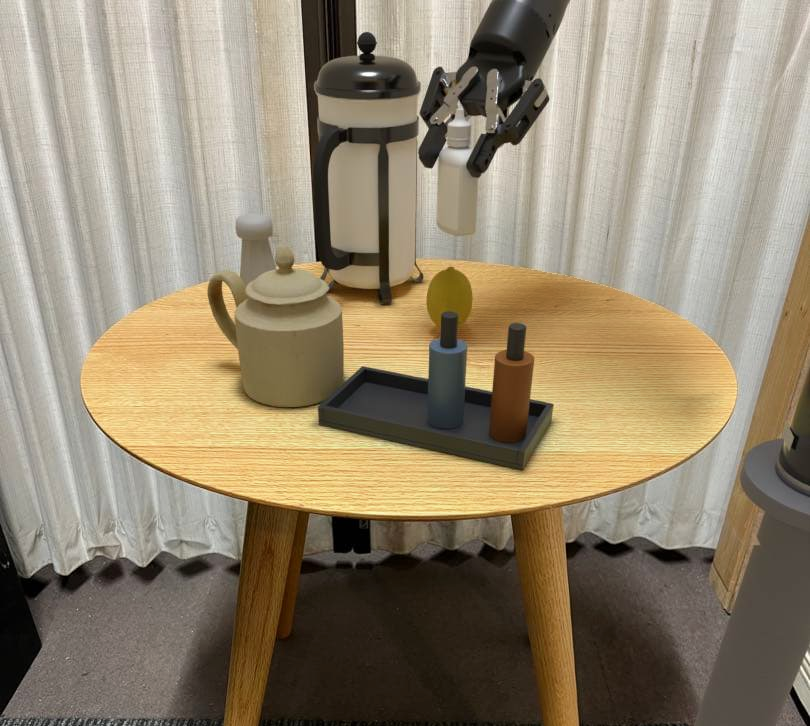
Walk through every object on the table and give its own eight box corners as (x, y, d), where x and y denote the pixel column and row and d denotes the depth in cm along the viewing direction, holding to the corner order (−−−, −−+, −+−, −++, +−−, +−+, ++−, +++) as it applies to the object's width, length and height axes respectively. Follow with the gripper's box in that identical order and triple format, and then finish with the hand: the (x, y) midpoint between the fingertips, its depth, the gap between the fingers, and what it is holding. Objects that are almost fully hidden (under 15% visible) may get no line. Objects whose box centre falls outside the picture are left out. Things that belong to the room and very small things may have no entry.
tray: (551, 421, 83) (553, 403, 82) (522, 470, 76) (524, 451, 75) (362, 382, 90) (362, 365, 89) (318, 424, 83) (317, 406, 81)
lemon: (441, 344, 98) (443, 278, 94) (417, 328, 102) (418, 263, 97) (479, 335, 101) (483, 270, 96) (454, 320, 104) (457, 256, 100)
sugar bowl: (195, 405, 86) (171, 260, 77) (221, 359, 94) (203, 225, 85) (337, 410, 85) (331, 264, 76) (350, 364, 94) (346, 229, 85)
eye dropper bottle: (434, 237, 89) (437, 113, 82) (437, 222, 94) (439, 103, 86) (475, 237, 89) (481, 114, 82) (475, 222, 93) (481, 104, 86)
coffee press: (301, 272, 118) (285, 26, 100) (410, 264, 121) (413, 24, 103) (321, 318, 104) (305, 43, 86) (442, 308, 108) (452, 40, 89)
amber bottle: (530, 429, 81) (542, 321, 75) (519, 446, 78) (531, 336, 72) (495, 421, 82) (504, 315, 76) (483, 438, 80) (492, 329, 73)
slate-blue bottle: (468, 416, 83) (474, 310, 77) (455, 432, 81) (461, 324, 74) (435, 409, 84) (438, 304, 78) (421, 424, 82) (424, 318, 75)
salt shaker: (296, 320, 104) (288, 213, 96) (267, 336, 100) (257, 225, 92) (260, 311, 106) (249, 205, 98) (230, 325, 102) (217, 217, 94)
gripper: (450, -8, 87) (378, 135, 86) (570, -1, 79) (492, 155, 79) (477, 46, 93) (410, 179, 93) (590, 57, 86) (517, 201, 86)
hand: (448, 167), depth 86 cm, fingers closed on eye dropper bottle, 5 cm apart
